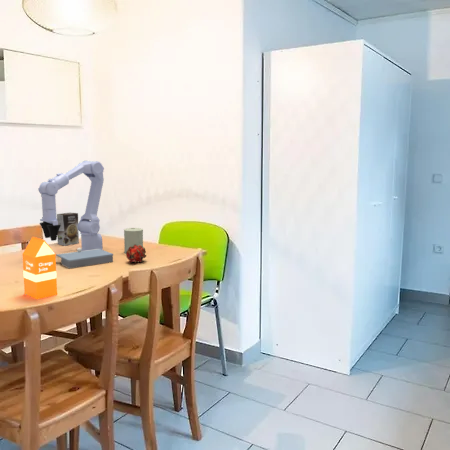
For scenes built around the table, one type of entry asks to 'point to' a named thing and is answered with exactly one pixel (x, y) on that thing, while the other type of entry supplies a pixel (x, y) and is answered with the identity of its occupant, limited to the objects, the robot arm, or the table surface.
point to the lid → (84, 254)
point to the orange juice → (39, 269)
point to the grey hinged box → (86, 262)
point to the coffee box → (68, 229)
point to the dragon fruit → (136, 253)
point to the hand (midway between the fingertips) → (50, 239)
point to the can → (132, 237)
